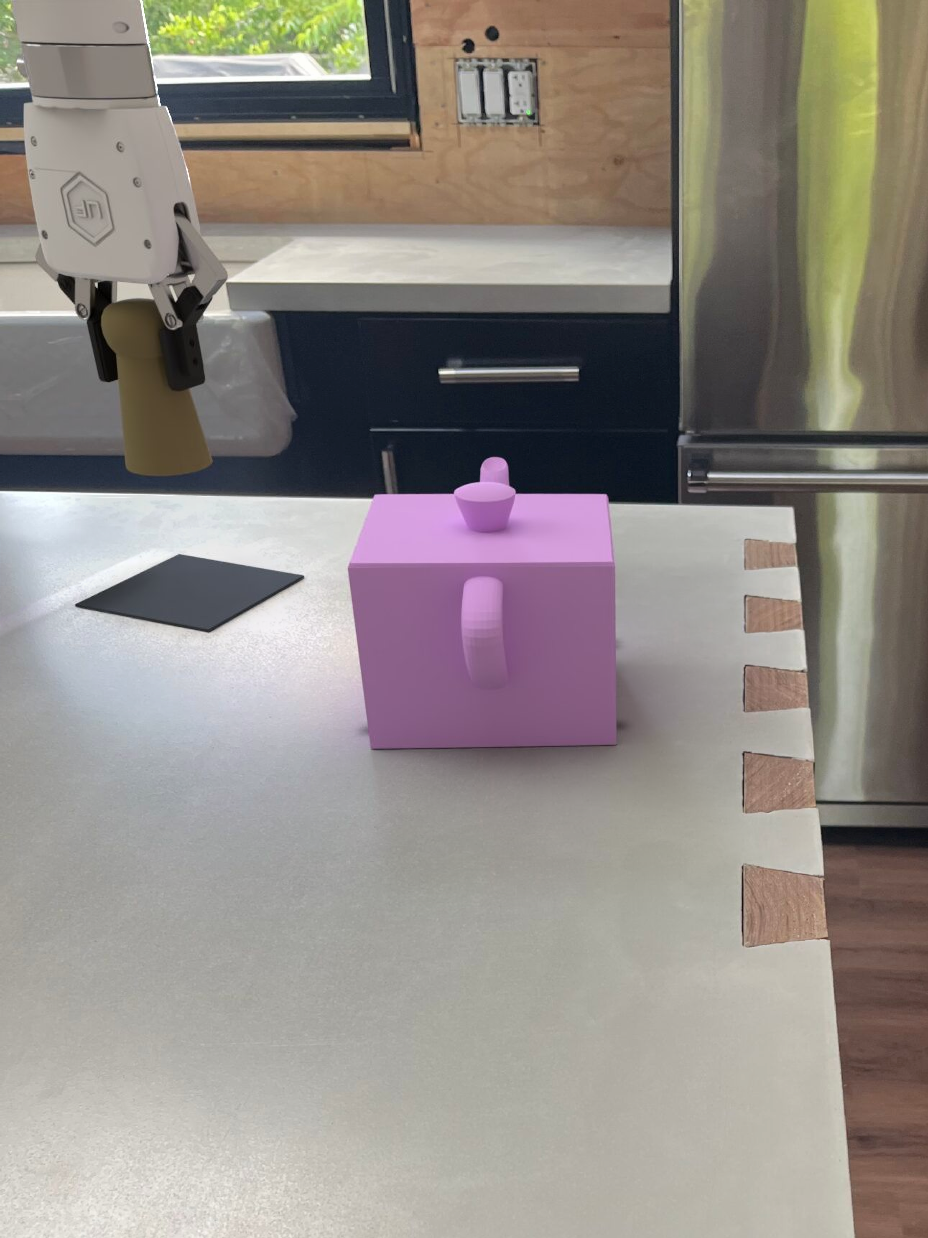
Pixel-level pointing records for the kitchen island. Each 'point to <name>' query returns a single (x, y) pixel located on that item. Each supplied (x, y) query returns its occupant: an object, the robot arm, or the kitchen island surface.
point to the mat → (191, 592)
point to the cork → (151, 396)
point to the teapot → (486, 617)
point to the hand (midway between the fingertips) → (152, 380)
